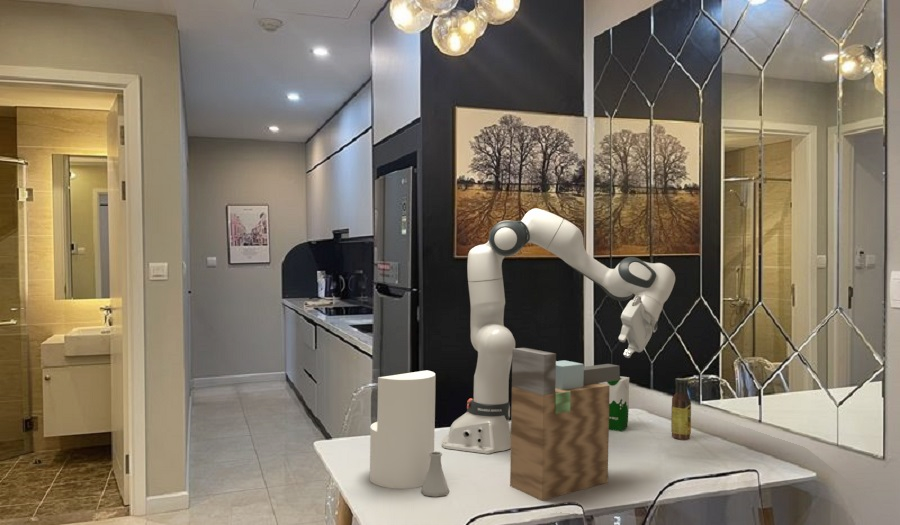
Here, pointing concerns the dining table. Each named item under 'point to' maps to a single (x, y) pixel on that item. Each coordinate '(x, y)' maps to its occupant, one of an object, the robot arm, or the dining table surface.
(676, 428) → the sauce bottle
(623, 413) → the milk carton
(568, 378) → the mallet
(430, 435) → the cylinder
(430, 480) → the flask
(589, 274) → the robot arm
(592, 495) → the dining table surface
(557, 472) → the wood grain block
